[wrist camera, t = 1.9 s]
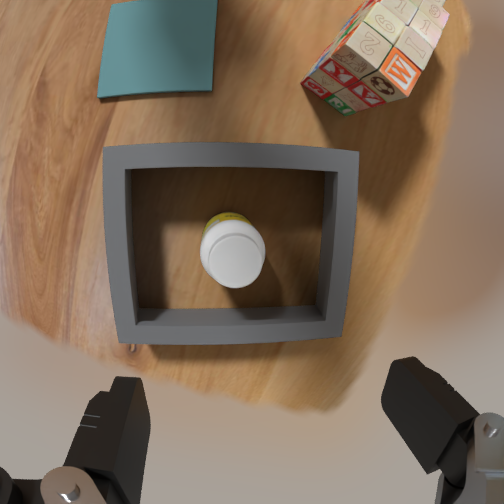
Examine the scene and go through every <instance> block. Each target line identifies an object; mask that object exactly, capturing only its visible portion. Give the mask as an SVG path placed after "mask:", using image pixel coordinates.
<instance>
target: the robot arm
mask: <svg viewBox="0 0 504 504" xmlns="http://www.w3.org/2000/svg"><path fill="white" fill-rule="evenodd" d="M381 403H382V408H383V410H384V412H385V414H386V415H387V416H388V418H389V419H390V421H391V422H392V424H393V425H394V427H395V428H396V430H397V431H398V432H399V434H400V435H401V437H402V438H403V439H404V441H405V443H406V444H407V446H408V447H409V448H410V450H411V451H412V453H413V454H414V456H415V457H416V459H417V460H418V462H419V463H420V465H421V466H422V468H423V469H424V470H425V472H426V473H427V474H429V473H432V472H434V471H436V470H438V469H441V471H442V474H441V475H440V477H439V481H438V487H437V493H436V499H435V504H504V418H503V417H502V416H500V415H498V414H495V413H483V414H481V415H480V414H479V413H478V412H477V411H476V410H475V409H474V408H473V407H472V406H471V405H470V404H469V403H468V402H467V401H466V400H465V399H464V398H463V397H462V396H461V395H460V394H459V393H458V392H457V391H454V388H453V387H452V386H451V385H450V384H447V381H446V380H445V379H444V378H442V376H441V375H440V374H439V373H437V372H435V371H433V370H431V369H429V368H427V367H425V366H424V365H423V364H422V363H421V362H420V361H419V360H418V359H417V358H416V357H413V356H412V357H407V358H403V359H398V360H394V361H393V362H392V364H391V366H390V369H389V373H388V376H387V380H386V383H385V386H384V389H383V392H382V396H381ZM150 425H151V424H150V414H149V410H148V405H147V401H146V397H145V392H144V388H143V383H142V380H141V378H137V377H119V376H117V377H115V379H114V381H113V384H112V386H111V389H110V391H109V392H105V391H100V392H99V393H98V394H97V395H95V396H94V397H93V398H92V399H91V400H90V401H89V403H88V406H87V408H86V410H85V413H84V416H83V417H82V420H81V422H80V426H79V427H78V429H77V432H76V434H75V437H74V439H73V442H72V444H71V447H70V449H69V452H68V455H67V457H66V460H65V463H64V465H63V466H62V467H58V468H55V469H53V470H51V471H49V472H48V473H47V474H46V475H45V476H44V478H43V479H40V480H27V479H26V480H24V479H12V478H11V477H10V475H9V474H8V473H7V472H6V471H5V470H4V469H3V468H1V467H0V504H140V498H141V490H142V482H143V475H144V467H145V461H146V454H147V447H148V442H149V436H150Z"/></svg>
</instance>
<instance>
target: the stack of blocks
mask: <svg viewBox="0 0 504 504" xmlns="http://www.w3.org/2000/svg"><path fill="white" fill-rule="evenodd" d="M445 1H446V0H364V2H363V3H362V4H361V5H360V6H359V8H358V9H357V10H356V11H355V12H354V14H353V15H352V16H351V18H350V20H349V21H348V22H347V23H346V25H345V26H344V27H343V28H342V30H341V31H340V33H339V34H338V35H337V36H336V38H335V39H334V40H333V42H332V43H331V44H330V45H329V46H328V47H327V48H326V50H325V51H324V52H323V54H322V55H321V56H320V57H319V59H318V60H317V61H316V63H315V64H314V65H313V66H312V67H311V69H310V70H309V71H308V73H307V74H306V75H305V77H304V78H303V79H302V81H301V84H302V85H303V86H305V87H306V88H307V89H309V90H310V91H312V92H313V93H314V94H316V95H317V96H319V97H320V98H321V99H323V100H325V101H326V102H327V103H329V104H330V105H331V106H333V107H334V108H335V109H336V110H338V111H339V112H340V113H342V114H343V115H344V116H348V115H351V114H354V113H357V112H358V111H362V110H365V109H368V108H370V107H371V108H374V107H377V106H380V105H383V104H387V103H388V102H392V101H395V100H399V99H403V98H407V97H408V96H409V95H410V93H411V91H412V89H413V87H414V85H415V84H416V82H417V80H418V78H419V76H420V74H421V72H422V71H423V70H424V69H425V67H426V65H427V63H428V61H429V59H430V57H431V55H432V52H433V50H434V49H435V47H436V46H437V43H438V41H439V39H440V37H441V34H442V30H443V29H444V27H445V25H446V22H447V20H448V18H449V16H450V14H449V13H448V12H447V11H446V10H445V9H444V8H443V7H442V6H443V5H444V3H445Z"/></svg>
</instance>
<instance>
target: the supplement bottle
mask: <svg viewBox="0 0 504 504" xmlns="http://www.w3.org/2000/svg"><path fill="white" fill-rule="evenodd" d="M200 258H201V262H202V265H203V267H204V269H205V270H206V272H207V273H208V274H209V275H210V276H211V277H212V278H213V279H215V280H216V281H217V282H218V283H220V284H221V285H223V286H226V287H229V288H241V287H245V286H247V285H249V284H251V283H252V282H253V281H254V280H255V279H256V278H257V277H258V276H259V274H260V272H261V269H262V265H263V263H264V260H265V245H264V241H263V239H262V237H261V235H260V234H259V232H258V231H257V230H256V229H255V227H254V226H253V225H252V224H251V223H250V221H249V220H248V219H247V218H245V217H244V216H243V215H241V214H238V213H235V212H223V213H219V214H217V215H215V216H214V217H212V218H211V219H210V220H209V221H208V223H207V224H206V226H205V228H204V230H203V233H202V240H201V247H200Z"/></svg>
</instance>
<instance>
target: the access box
mask: <svg viewBox="0 0 504 504" xmlns="http://www.w3.org/2000/svg"><path fill="white" fill-rule="evenodd" d="M167 167H256V168H283V169H302V170H318V171H325V183H324V204H323V221H322V237H321V250H320V262H319V274H318V285H317V295H316V304H315V305H305V306H284V307H259V308H219V309H142V308H139V301H138V292H137V282H136V271H135V258H134V244H133V225H132V192H131V169H141V168H167ZM358 174H359V151H350V150H342V149H332V148H322V147H311V146H298V145H283V144H264V143H234V142H184V143H154V144H136V145H121V146H109V147H103V208H104V228H105V242H106V254H107V264H108V274H109V282H110V290H111V298H112V305H113V311H114V318H115V324H116V329H117V335H118V341H119V343H129V344H160V345H217V344H249V343H269V342H286V341H299V340H312V339H323V338H333V337H341V336H342V330H343V324H344V318H345V311H346V304H347V297H348V290H349V282H350V274H351V265H352V256H353V246H354V235H355V223H356V210H357V194H358Z"/></svg>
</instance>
